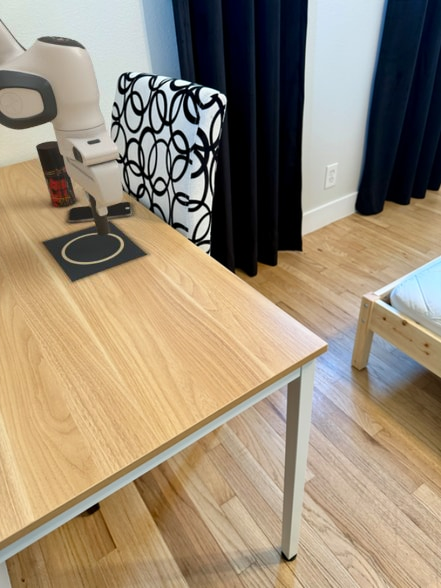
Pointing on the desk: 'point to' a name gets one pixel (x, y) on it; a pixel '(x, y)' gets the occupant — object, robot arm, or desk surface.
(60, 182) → the deodorant
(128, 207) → the smartphone
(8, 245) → the desk surface
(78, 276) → the desk pad
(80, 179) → the robot arm
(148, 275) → the desk surface
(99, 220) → the marker
